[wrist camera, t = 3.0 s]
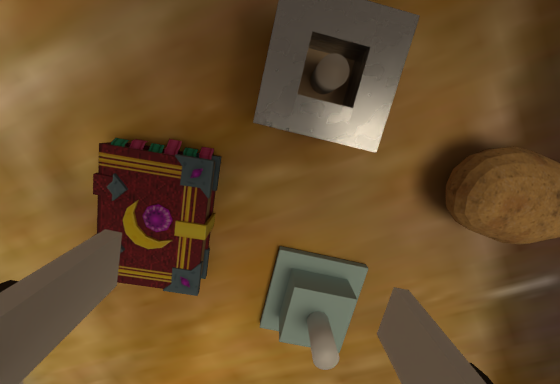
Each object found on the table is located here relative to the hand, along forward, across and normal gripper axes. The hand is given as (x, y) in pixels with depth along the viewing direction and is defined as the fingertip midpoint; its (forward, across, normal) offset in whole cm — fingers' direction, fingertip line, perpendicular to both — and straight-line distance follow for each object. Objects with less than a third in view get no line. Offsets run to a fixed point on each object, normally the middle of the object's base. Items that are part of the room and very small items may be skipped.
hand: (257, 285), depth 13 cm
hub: (+19, +8, -12) cm, 24 cm away
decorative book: (+20, -11, -4) cm, 23 cm away
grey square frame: (+14, +3, +12) cm, 19 cm away
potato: (+19, +25, +6) cm, 32 cm away
